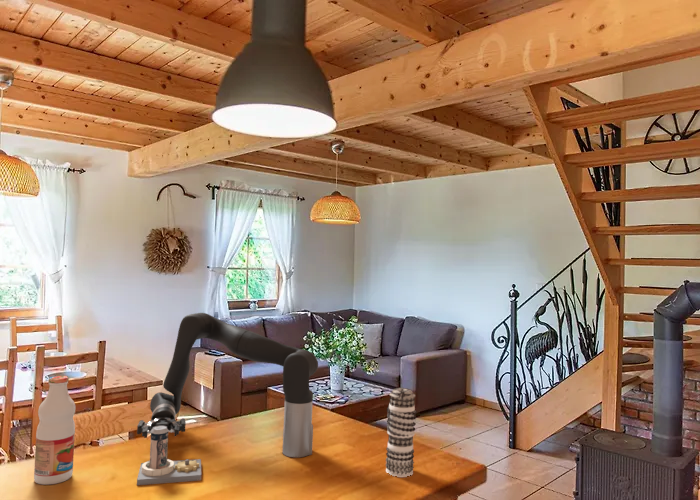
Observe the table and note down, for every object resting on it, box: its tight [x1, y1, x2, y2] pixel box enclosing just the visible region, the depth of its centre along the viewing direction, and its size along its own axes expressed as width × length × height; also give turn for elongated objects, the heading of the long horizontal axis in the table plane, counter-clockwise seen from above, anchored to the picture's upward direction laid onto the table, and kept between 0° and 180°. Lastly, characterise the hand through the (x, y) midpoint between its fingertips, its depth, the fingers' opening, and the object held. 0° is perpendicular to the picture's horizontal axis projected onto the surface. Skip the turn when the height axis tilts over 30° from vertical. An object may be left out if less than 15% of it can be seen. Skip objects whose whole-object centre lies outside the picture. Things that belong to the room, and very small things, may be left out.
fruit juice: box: [33, 375, 76, 486], centre depth 145 cm, size 9×9×28 cm
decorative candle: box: [385, 387, 418, 478], centre depth 160 cm, size 9×9×25 cm
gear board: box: [136, 458, 202, 486], centre depth 151 cm, size 17×12×4 cm
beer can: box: [149, 426, 169, 469], centre depth 150 cm, size 5×5×12 cm
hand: (160, 433), depth 158 cm, fingers open, 8 cm apart
